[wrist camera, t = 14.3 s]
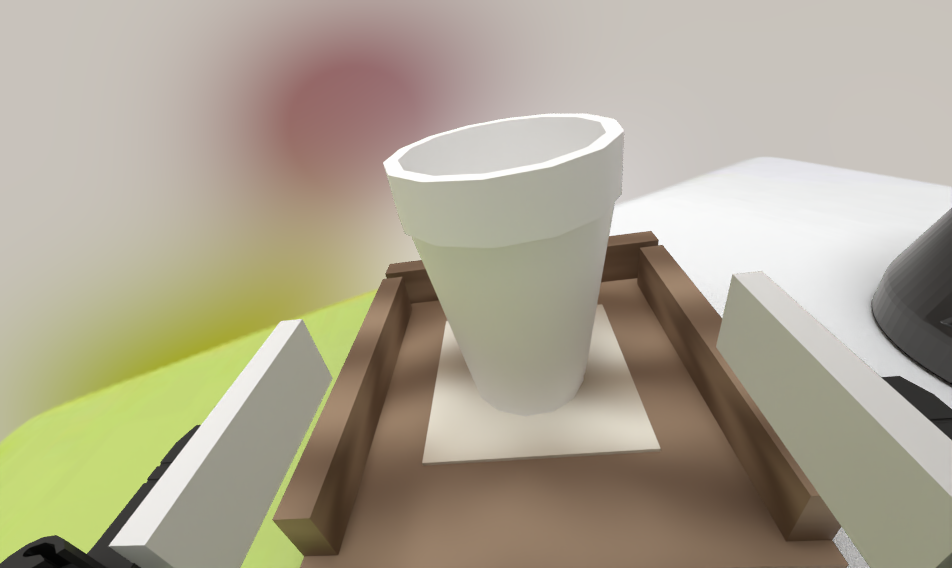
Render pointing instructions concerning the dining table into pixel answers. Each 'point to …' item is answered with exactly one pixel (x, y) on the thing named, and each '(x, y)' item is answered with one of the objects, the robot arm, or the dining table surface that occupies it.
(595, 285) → the foam cup
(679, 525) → the tray
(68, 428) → the dining table surface
